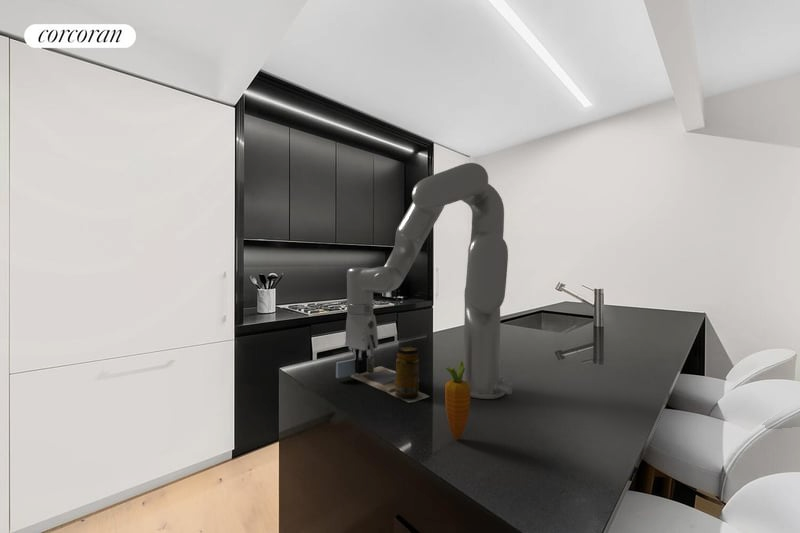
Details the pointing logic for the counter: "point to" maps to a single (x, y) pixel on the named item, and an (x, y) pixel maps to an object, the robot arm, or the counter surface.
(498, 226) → the robot arm
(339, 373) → the panel
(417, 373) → the condiment
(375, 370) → the gate frame
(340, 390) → the counter surface
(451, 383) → the carrot
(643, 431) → the counter surface
